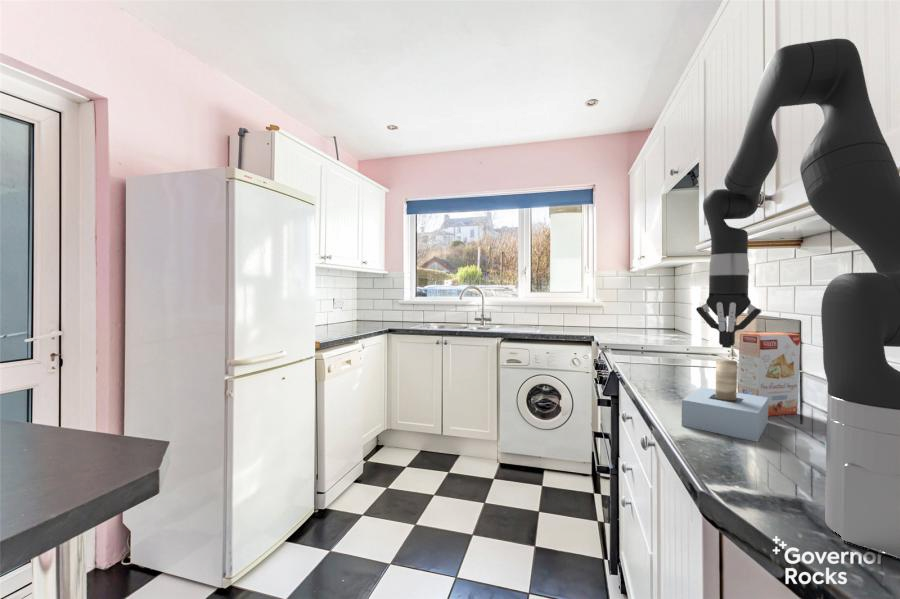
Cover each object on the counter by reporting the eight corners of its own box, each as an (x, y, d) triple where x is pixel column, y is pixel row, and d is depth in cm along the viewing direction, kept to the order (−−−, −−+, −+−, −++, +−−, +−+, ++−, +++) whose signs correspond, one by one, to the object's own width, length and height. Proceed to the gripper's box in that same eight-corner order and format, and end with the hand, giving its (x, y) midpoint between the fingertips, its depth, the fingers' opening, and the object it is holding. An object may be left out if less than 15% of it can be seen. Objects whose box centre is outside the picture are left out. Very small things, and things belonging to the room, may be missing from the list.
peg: (734, 423, 89) (735, 362, 89) (713, 419, 92) (714, 360, 92) (737, 419, 92) (738, 360, 92) (716, 415, 95) (717, 358, 95)
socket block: (757, 441, 81) (758, 413, 81) (681, 425, 90) (681, 399, 90) (768, 422, 93) (768, 397, 93) (700, 409, 103) (700, 387, 103)
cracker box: (759, 418, 96) (761, 334, 96) (735, 411, 102) (737, 332, 102) (800, 414, 100) (802, 333, 100) (775, 407, 106) (776, 331, 106)
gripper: (692, 274, 93) (690, 346, 94) (762, 272, 84) (760, 352, 84) (699, 275, 99) (698, 343, 99) (766, 273, 89) (764, 348, 90)
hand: (726, 347), depth 92 cm, fingers closed
